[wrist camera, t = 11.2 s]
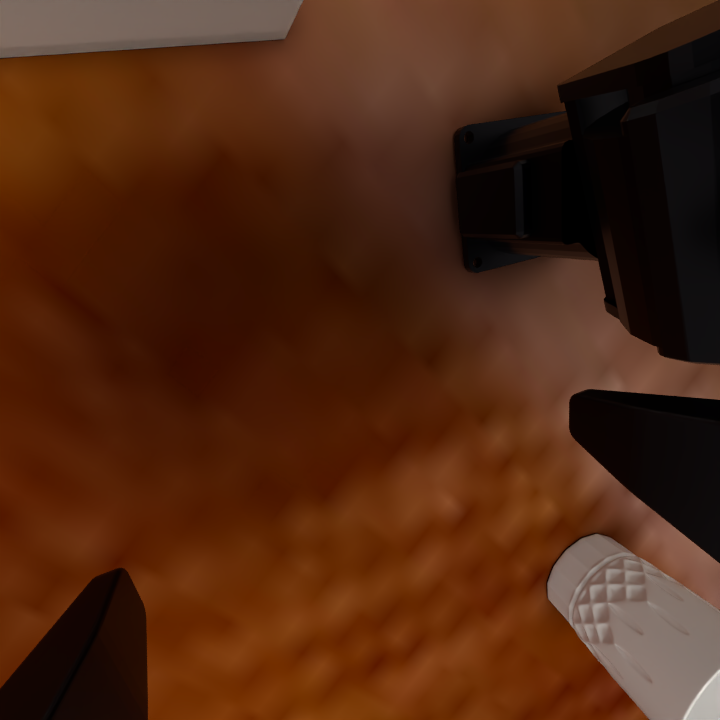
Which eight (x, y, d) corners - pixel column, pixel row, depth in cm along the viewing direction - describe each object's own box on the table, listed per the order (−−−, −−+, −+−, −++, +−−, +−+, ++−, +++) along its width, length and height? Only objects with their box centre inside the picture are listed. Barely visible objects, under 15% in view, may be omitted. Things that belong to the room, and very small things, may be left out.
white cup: (523, 583, 30) (661, 733, 21) (599, 507, 31) (765, 621, 22) (562, 628, 34) (695, 773, 25) (630, 559, 34) (784, 676, 25)
